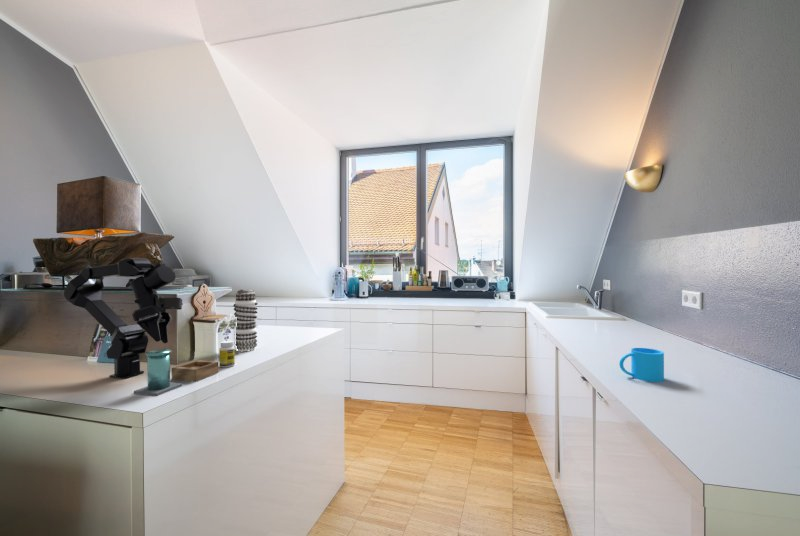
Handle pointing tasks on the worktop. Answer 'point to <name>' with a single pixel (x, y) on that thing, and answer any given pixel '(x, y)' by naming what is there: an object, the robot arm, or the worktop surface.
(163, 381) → the teal glass jar
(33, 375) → the worktop surface
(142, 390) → the mat
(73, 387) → the worktop surface
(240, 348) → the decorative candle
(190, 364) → the wooden tray
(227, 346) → the supplement bottle
